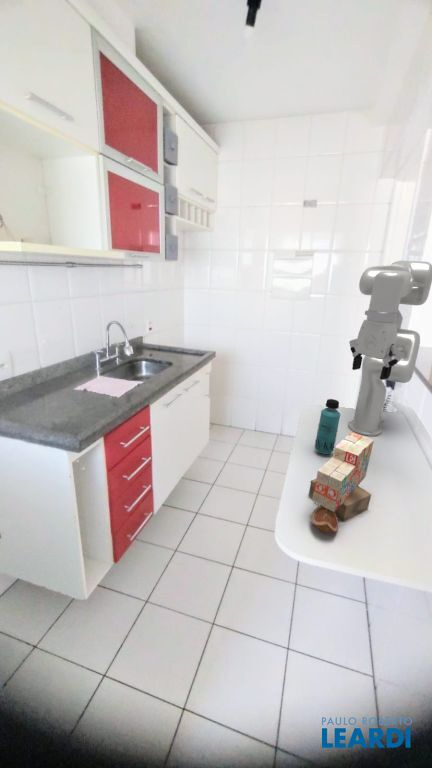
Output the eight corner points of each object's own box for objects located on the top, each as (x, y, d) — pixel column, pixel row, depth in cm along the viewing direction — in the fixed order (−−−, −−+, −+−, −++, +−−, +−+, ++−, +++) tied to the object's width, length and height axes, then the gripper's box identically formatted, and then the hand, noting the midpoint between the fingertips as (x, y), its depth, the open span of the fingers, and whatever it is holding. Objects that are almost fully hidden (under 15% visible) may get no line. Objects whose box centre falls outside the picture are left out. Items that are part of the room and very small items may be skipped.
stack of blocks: (334, 513, 83) (343, 470, 79) (311, 501, 87) (318, 459, 83) (365, 476, 98) (374, 439, 94) (344, 467, 102) (352, 431, 98)
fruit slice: (336, 544, 81) (340, 527, 79) (307, 535, 83) (310, 519, 81) (338, 521, 88) (341, 505, 86) (311, 513, 90) (314, 498, 88)
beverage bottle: (314, 446, 123) (322, 395, 117) (333, 450, 121) (343, 398, 115) (312, 455, 118) (321, 402, 111) (333, 460, 116) (343, 405, 109)
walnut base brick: (332, 485, 102) (335, 471, 100) (367, 509, 93) (371, 494, 91) (308, 495, 97) (311, 480, 95) (342, 522, 88) (346, 506, 86)
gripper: (347, 313, 102) (338, 367, 108) (402, 323, 89) (388, 385, 95) (363, 311, 106) (353, 364, 112) (418, 321, 92) (404, 381, 98)
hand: (369, 373), depth 103 cm, fingers open, 9 cm apart
